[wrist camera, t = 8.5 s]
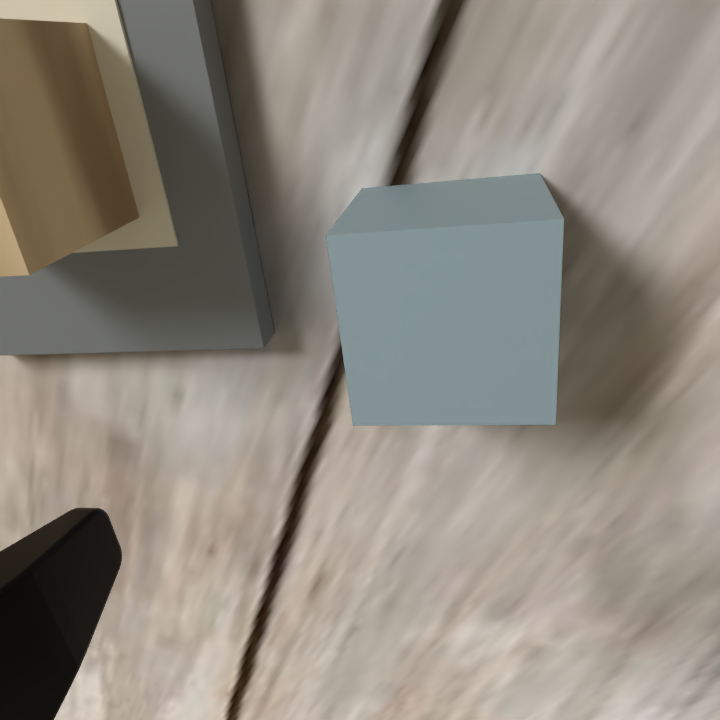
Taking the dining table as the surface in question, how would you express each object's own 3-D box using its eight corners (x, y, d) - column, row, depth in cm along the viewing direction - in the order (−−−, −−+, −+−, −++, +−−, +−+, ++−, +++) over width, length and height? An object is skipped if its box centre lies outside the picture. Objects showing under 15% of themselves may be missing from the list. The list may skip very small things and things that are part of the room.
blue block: (539, 172, 16) (564, 218, 12) (536, 336, 19) (555, 424, 14) (362, 187, 17) (325, 235, 13) (379, 341, 20) (353, 425, 15)
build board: (168, -219, 14) (141, -242, 13) (274, 332, 20) (262, 349, 19) (-210, -132, 16) (-263, -145, 15) (-7, 341, 22) (-33, 357, 21)
